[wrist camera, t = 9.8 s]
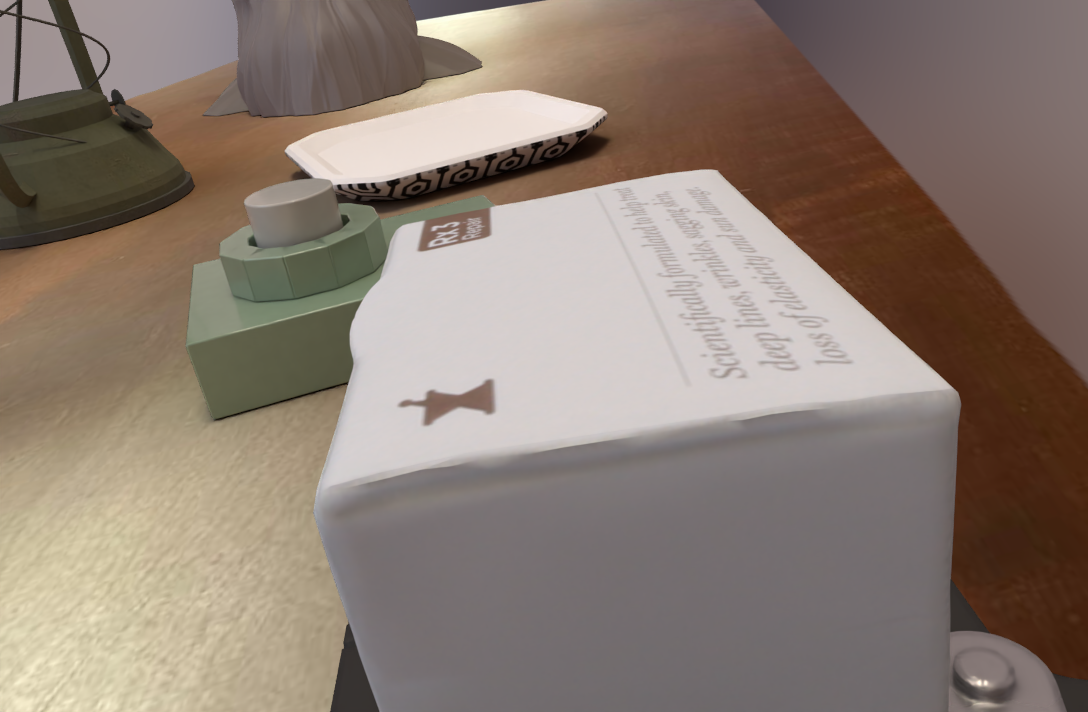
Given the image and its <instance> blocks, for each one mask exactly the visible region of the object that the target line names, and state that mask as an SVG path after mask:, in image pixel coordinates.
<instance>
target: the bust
mask: <svg viewBox="0 0 1088 712" xmlns="http://www.w3.org/2000/svg"><path fill="white" fill-rule="evenodd" d="M232 2H233V5H234V8H235V11H236V15H237V20H238V57H239V61H238V67H237V78H236V79H235V80H234V81H232V82H231V83H230V84H229V86H228V87H227V88H226V89H225V90H224V91H223V93H222V94H221V95H220V97H219V98H218V100H217V101H216V102H215V103H214V104H213V105H212V106H211V107H210V108H209V109H208V110H207V111H206V112H205V113H204V114H203V115H211V116H220V115H225V114H231V113H236V112H242V111H248V110H249V112H250V114H251V116H256V115H262V117H270V116H285V115H294V116H297V115H312V114H318V113H323V112H328V111H334V110H341V109H345V108H349V107H352V106H356V105H361V104H364V103H367V102H369V101H372V100H377V99H381V98H384V97H386V96H390V95H395V94H400V93H403V92H404V91H406V90H410V89H413V88H417V87H419V86H421V84H422V81H423V80H426V79H432V78H437V77H443V76H449V75H455V74H461V73H465V72H467V71H470V70H473V69H476V68H479V67H482V65H481V61H480V60H479V59H477V58H476V57H474V56H473V55H471V54H470V53H468V52H467V51H465V50H463V49H461V48H460V47H458V46H456V45H454V44H451V43H448V42H445V41H442V40H439V39H435V38H430V37H424V36H417V24H416V20H415V16H414V14H413V12H412V10H411V8H410V5H409V3H408V0H232Z"/></svg>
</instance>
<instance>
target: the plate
mask: <svg viewBox="0 0 1088 712" xmlns="http://www.w3.org/2000/svg"><path fill="white" fill-rule="evenodd" d="M607 116H608V115H607V112H606V111H605V110H603V109H602V108H599V107H594V106H590V105H586V104H582V103H578V102H573V101H569V100H565V99H561V98H556V97H552V96H548V95H544V94H540V93H535V92H531V91H527V90H514V91H504V92H493V93H482V94H476V95H471V96H467V97H463V98H459V99H455V100H450V101H446V102H442V103H438V104H433V105H429V106H425V107H421V108H417V109H412V110H408V111H404V112H400V113H395V114H391V115H387V116H383V117H379V118H374V119H370V120H366V121H362V122H357V123H353V124H349V125H345V126H341V127H336V128H332V129H328V130H324V131H320V132H317V133H314V134H312V135H309V136H307V137H305V138H303V139H301V140H299V141H297V142H295V143H293V144H290V145H289V146H288V147H287V148H286V150H285V154H286V156H287V157H288V158H290V159H291V160H292V161H293V162H294V163H295V164H296V165H297V166H299V167H300V168H301V169H302V170H303V171H304V172H305V173H306V174H307V175H309V176H310V177H311V178H321V179H327V180H330V181H331V182H332V183H333V186H334V190H335V193H336V194H339V195H342V196H345V197H348V198H351V199H354V200H358V201H379V200H399V199H405V198H410V197H414V196H418V195H421V194H425V193H429V192H432V191H436V190H440V189H443V188H447V187H451V186H455V185H458V184H462V183H466V182H469V181H473V180H477V179H481V178H484V177H488V176H492V175H495V174H499V173H503V172H506V171H510V170H514V169H518V168H521V167H525V166H529V165H532V164H536V163H540V162H543V161H547V160H551V159H555V158H557V157H560V156H562V155H563V154H565V153H566V152H567V151H568V150H570V149H571V148H572V147H573V146H575V145H576V144H577V143H579V142H580V141H581V140H582V139H584V138H585V137H586V136H587V135H589V134H590V133H591V132H592V131H594V130H595V129H596V128H597V127H598V126H599V125H600V124H601V123H603V122H604V121H605V120H606V119H607Z"/></svg>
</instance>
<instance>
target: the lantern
mask: <svg viewBox="0 0 1088 712" xmlns="http://www.w3.org/2000/svg"><path fill="white" fill-rule="evenodd" d="M48 1H49V4H50V6H51V9H52V11H53V14H54V16H55V19H56V22H57V24H58V25H57V24H53V23H50V22H46V21H42V20H38V19H34V18H30V17H26V16H22V0H17V1H16V2H15V3H14V4H12V5H11V6H10V7H9V8H7V9H6V10H5V11H1V10H0V13H1V14H0V17H1V16H2V15H3V14H8V15H12V16H16V17H17V18H16V49H15V73H14V90H13V102H12V103H9V104H5V105H2V106H0V249H10V248H18V247H24V246H31V245H38V244H43V243H48V242H53V241H58V240H63V239H67V238H71V237H75V236H79V235H83V234H87V233H91V232H95V231H98V230H101V229H105V228H108V227H111V226H115V225H118V224H121V223H124V222H127V221H130V220H133V219H136V218H138V217H141V216H144V215H147V214H149V213H151V212H154V211H156V210H159V209H161V208H163V207H166V206H168V205H169V204H171V203H173V202H175V201H177V200H179V199H181V198H182V197H184V196H185V195H186V194H188V193H189V192H190V191H191V190H192V188H193V187H194V183H193V180H192V177H191V174H190V172H187V171H185V170H184V168H183V166H182V165H181V163H180V162H179V160H178V159H177V158H176V157H175V156H174V155H172V154H171V153H170V152H169V151H168V150H167V149H166V148H165V147H164V146H163V145H162V144H161V143H160V142H159V141H158V140H157V139H156V138H155V137H154V136H153V135H152V134H151V133H150V132H149V131H148V130H147V129H148V128H150V129H151V128H152V126H153V124H152V121H151V119H150V118H148V117H147V116H146V115H144V113H142V112H140V111H139V110H136V109H134V108H132V107H131V106H128V105H126V104H125V101H124V99H123V97H122V95H121V94H120V93H119V91H118V90H115V89H114V90H112V93H111V97H112V102H108V100H107V97H106V96H105V95H103V92H102V90H101V87H100V84H99V82H98V80H99V79H100V78H101V77H102V75H103V74H104V73H105V71H106V70H107V68H108V66H109V63H110V55H109V52H108V50H107V49H106V48H105V46H104V45H103V44H101V43H100V42H99V41H97V40H96V39H94V38H92V37H90V36H88V35H86V34H84V33H81V32H80V30H79V28H78V25H77V22H76V20H75V17H74V15H73V12H72V9H71V7H70V4H69V2H68V0H48ZM16 4H17V14H14V13H10V12H7V11H9V10H10V9H11V8H12V7H14V6H15V5H16ZM22 18H25V19H29V20H33V21H37V22H41V23H45V24H48V25H52V26H56V27H59V29H60V32H61V34H62V37H63V39H64V42H65V44H66V47H67V50H68V52H69V55H70V58H71V60H72V63H73V65H74V67H75V71H76V73H77V76H78V78H79V81H80V84H81V87H82V89H80V90H71V91H65V92H59V93H54V94H48V95H43V96H38V97H34V98H29V99H25V100H21V101H18V95H19V78H20V58H21V30H22V29H21V28H22ZM82 35H83V36H85V37H87V38H90V39H91V40H93V41H95V42H97V43H98V44H99V45H101V46H102V47H103V48H104V49H105V51H106V53H107V64H106V66H105V68H104V70H103V71H102V73H101V74H100V75H99V76H98V77H97V76H96V73H95V70H94V68H93V65H92V62H91V59H90V57H89V54H88V51H87V49H86V46H85V44H84V41H83V38H82ZM113 105H114V106H115V108H114V110H115V112H117V113H118V114H119V116H117V115H114V114H113V113H112V110H111V108H110V106H113Z"/></svg>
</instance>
